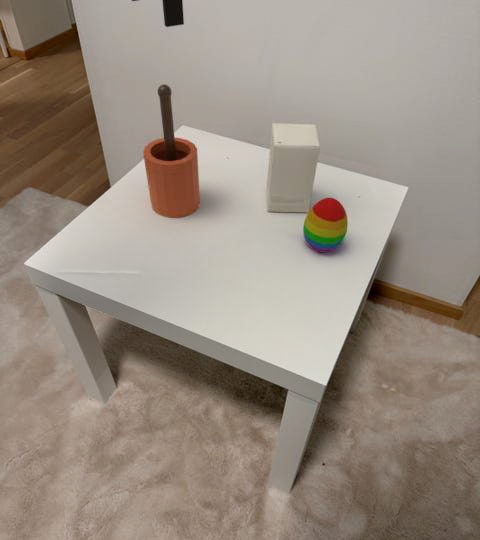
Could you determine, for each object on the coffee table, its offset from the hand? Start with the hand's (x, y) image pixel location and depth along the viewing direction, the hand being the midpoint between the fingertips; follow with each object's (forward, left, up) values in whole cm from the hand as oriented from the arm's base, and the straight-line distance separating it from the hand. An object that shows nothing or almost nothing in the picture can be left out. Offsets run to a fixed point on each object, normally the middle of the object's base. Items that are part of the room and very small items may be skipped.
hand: (156, 11), depth 68 cm
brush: (0, 0, -34) cm, 34 cm away
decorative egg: (+30, -12, -35) cm, 48 cm away
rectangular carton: (+24, +2, -35) cm, 42 cm away
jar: (0, 0, -35) cm, 35 cm away
